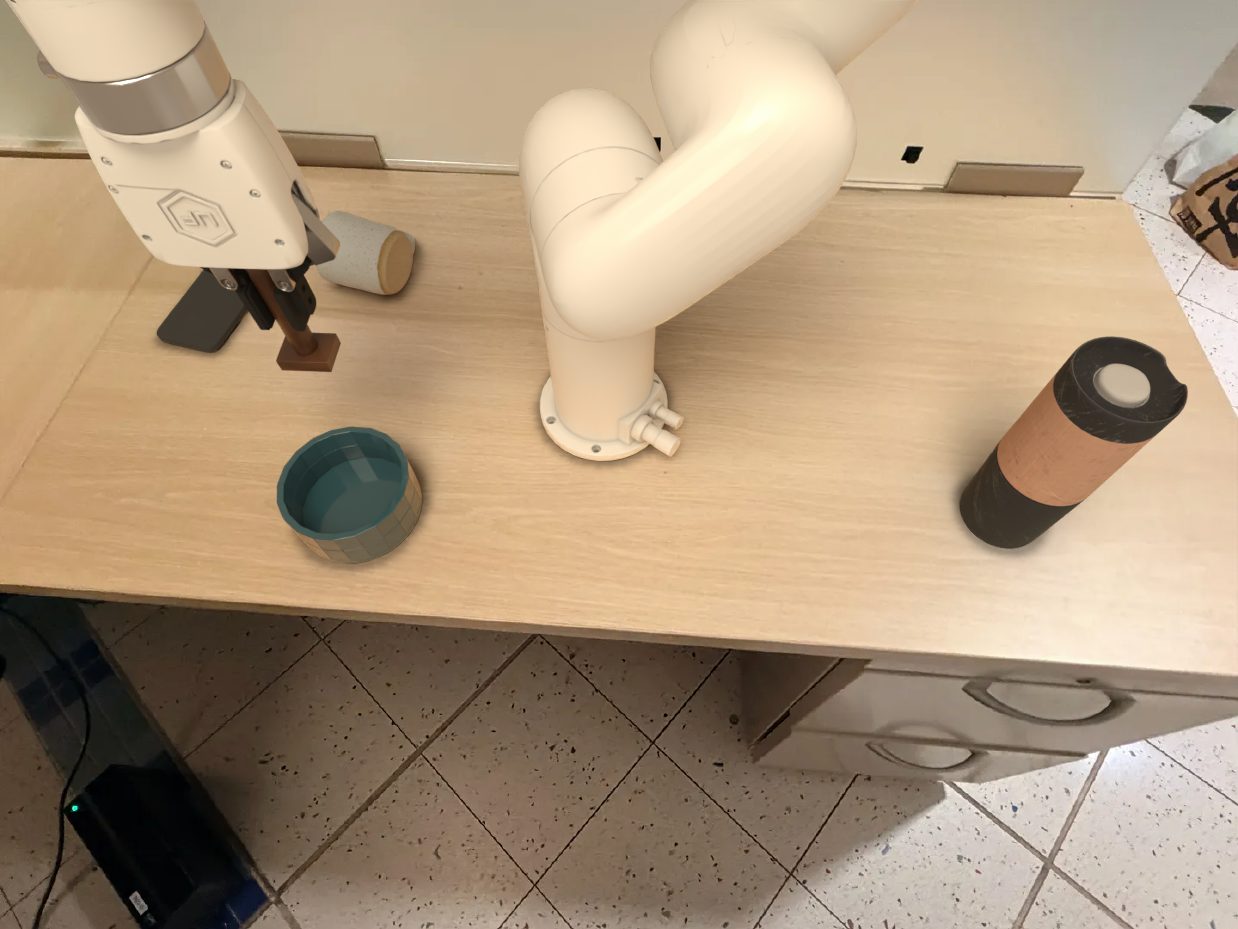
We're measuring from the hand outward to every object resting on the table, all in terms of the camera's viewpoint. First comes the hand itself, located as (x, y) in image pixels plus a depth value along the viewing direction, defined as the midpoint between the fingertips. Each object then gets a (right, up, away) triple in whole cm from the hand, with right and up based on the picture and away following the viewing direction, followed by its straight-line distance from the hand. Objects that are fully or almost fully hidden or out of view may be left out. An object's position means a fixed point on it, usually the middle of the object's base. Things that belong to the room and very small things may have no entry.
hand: (288, 315), depth 54 cm
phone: (-19, +7, +27) cm, 34 cm away
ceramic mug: (-3, +11, +29) cm, 31 cm away
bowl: (+1, -15, +13) cm, 20 cm away
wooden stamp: (0, -2, +4) cm, 5 cm away
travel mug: (+59, -16, +12) cm, 62 cm away
